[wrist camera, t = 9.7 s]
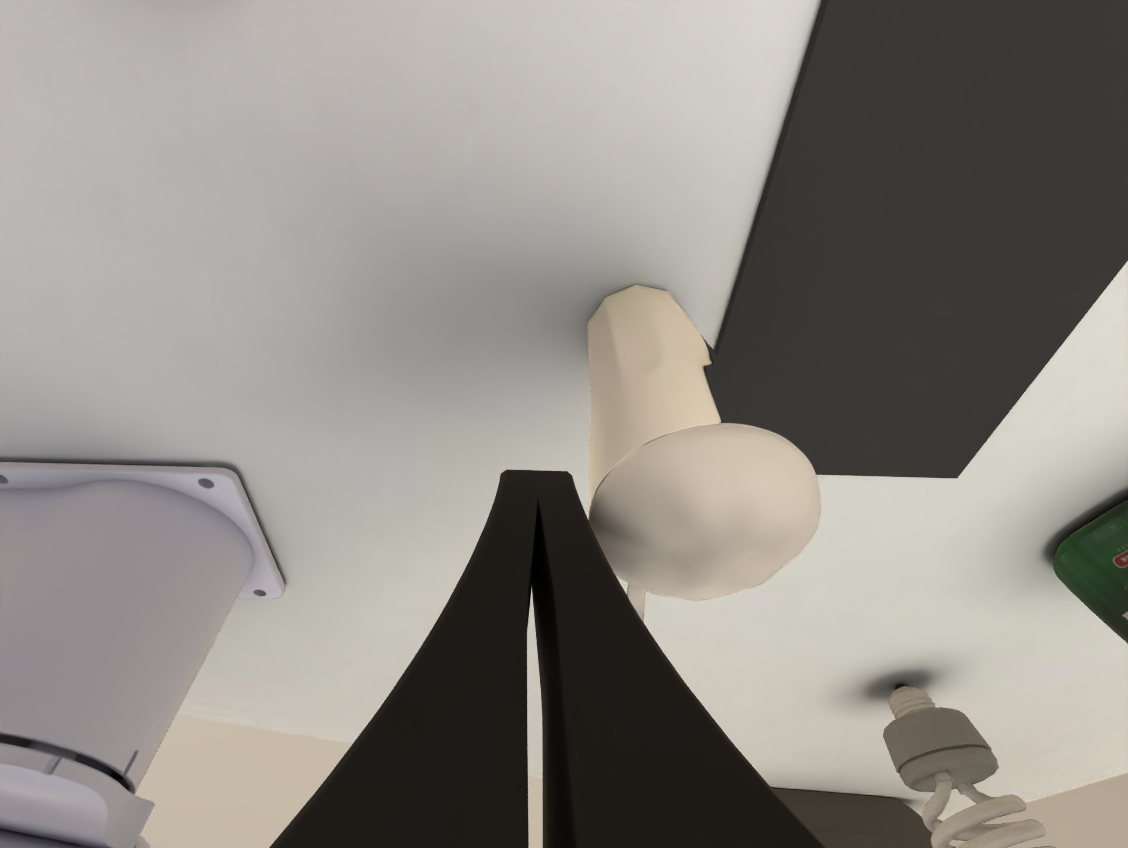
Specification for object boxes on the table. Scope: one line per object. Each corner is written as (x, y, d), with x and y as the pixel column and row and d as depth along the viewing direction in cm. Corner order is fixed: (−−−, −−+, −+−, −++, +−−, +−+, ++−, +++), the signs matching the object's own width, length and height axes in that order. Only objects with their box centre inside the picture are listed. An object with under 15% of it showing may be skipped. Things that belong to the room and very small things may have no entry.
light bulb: (960, 677, 34) (1129, 928, 24) (888, 709, 36) (1014, 947, 27) (914, 657, 32) (1078, 924, 22) (840, 693, 34) (959, 945, 25)
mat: (678, 466, 20) (680, 471, 20) (929, -348, 9) (940, -358, 8) (952, 473, 21) (957, 478, 21) (1499, -236, 10) (1523, -243, 9)
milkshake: (528, 373, 17) (527, 662, 9) (618, 234, 14) (725, 476, 6) (635, 423, 19) (713, 707, 11) (734, 307, 16) (933, 572, 8)
